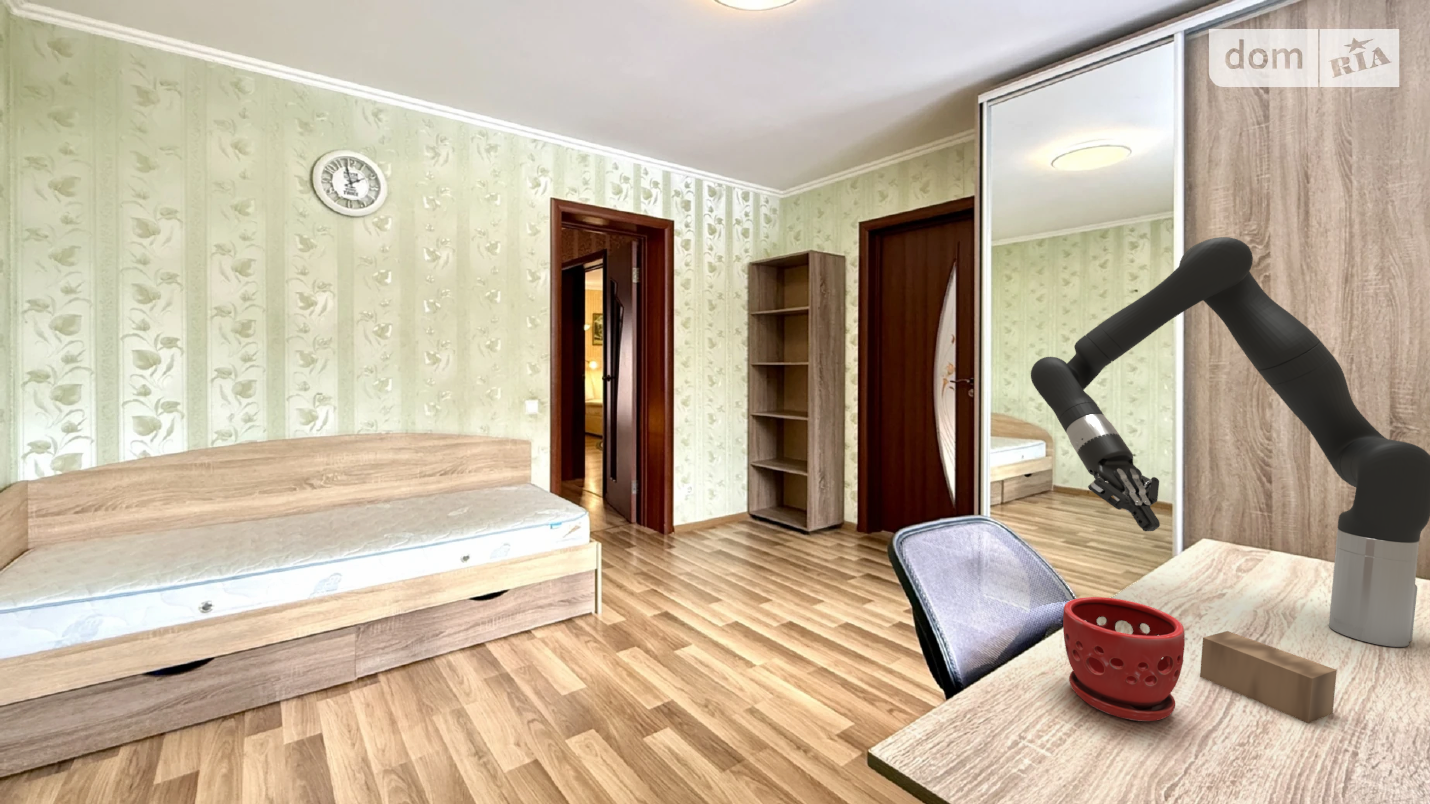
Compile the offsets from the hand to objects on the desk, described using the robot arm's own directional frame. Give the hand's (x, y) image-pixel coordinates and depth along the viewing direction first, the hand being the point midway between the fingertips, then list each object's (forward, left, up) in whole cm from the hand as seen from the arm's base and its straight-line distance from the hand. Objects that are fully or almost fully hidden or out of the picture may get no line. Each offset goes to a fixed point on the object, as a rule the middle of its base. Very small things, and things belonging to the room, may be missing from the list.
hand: (1152, 528), depth 99 cm
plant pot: (+22, +17, -18) cm, 33 cm away
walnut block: (+1, +12, -15) cm, 20 cm away
